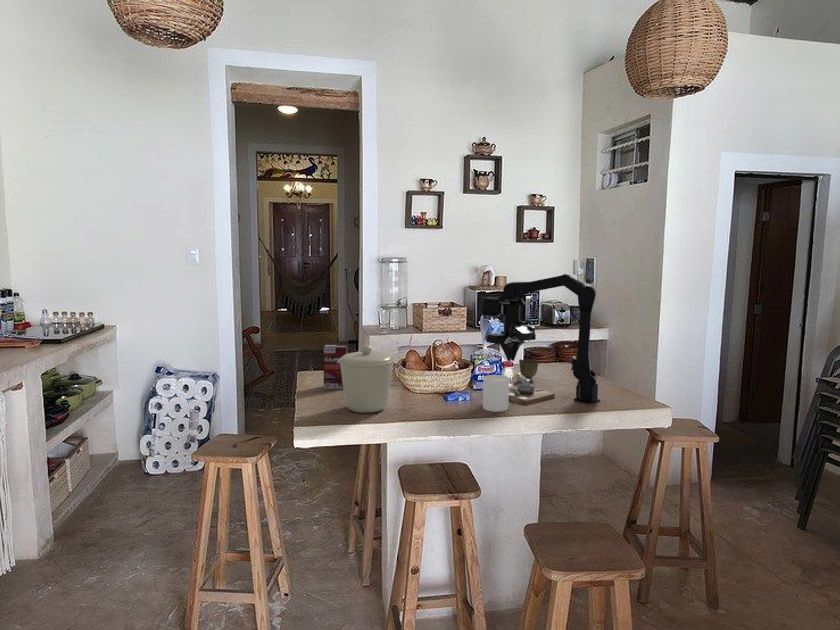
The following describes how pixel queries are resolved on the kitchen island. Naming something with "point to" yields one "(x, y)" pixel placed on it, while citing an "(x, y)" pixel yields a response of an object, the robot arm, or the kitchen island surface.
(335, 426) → the kitchen island surface
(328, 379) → the supplement box
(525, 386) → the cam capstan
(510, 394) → the stand
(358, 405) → the canister
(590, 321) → the robot arm
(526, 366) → the cup
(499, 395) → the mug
